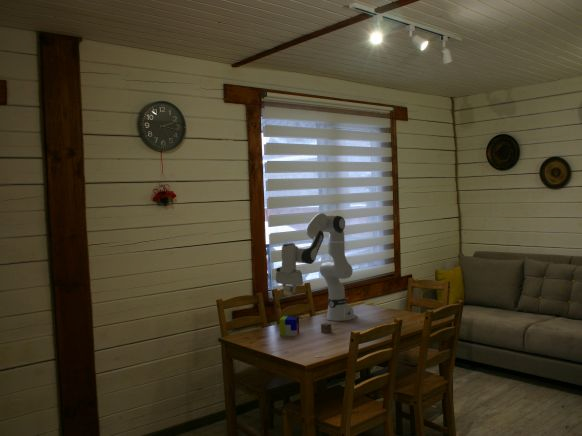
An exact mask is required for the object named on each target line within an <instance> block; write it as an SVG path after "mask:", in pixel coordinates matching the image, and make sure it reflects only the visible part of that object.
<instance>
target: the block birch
mask: <svg viewBox="0 0 582 436" xmlns="http://www.w3.org/2000/svg"><path fill="white" fill-rule="evenodd" d="M291 289H293V286H292V285H289V284H286V286H284V288H283V295H284V296H290V297H291V296H295V295H296V291H295V292H291Z"/></svg>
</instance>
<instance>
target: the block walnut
mask: <svg viewBox="0 0 582 436" xmlns="http://www.w3.org/2000/svg"><path fill="white" fill-rule="evenodd" d="M320 330H321V333H323V332H324V333H323V334H328V333H331V332H332V331H333V330H332V323H329V322H324V323H321V324H320Z"/></svg>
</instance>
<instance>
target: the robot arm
mask: <svg viewBox="0 0 582 436" xmlns="http://www.w3.org/2000/svg"><path fill="white" fill-rule="evenodd" d="M345 228H346V220H345V218H344V216H341V215H326V214H325V213H323V212H320V213H317V214H315V216H313V218H311V220H310V222H309V223H308V224H307V225H306V228H305V231H306V235H307V236H308V237H309V238H310V239H311V240H312V242H311V243H310V246H308V247H299V246H297V245H296V244H295V242H293V241H292V242H291V241H290V242H285V243H282V246H281V260H282V261H281V266H279V267H276V268H275V282H276V284H281V286H282V287H283V289H284V286H287V285H292V286H293V289H291V292H295V293H296V288H297V286H302V285H303V284H304V280H303V272H302V271H301V270H300V269H297V263H298V264H307V265H311V264H314V263H315V261H316V259H317V257H318V253H319V250H320V248H321V246H322V244H323V242H324V238H325V236H324V232H325V233H328V244H327V245H328V247H327V248H328V249H327V251H328V252H327V253H328V255H329V256H330V257H331V258H332V259H333V261H325V262H322V264H320V267H319V273H320V275H321V276H322V277H323V278H324V280H325V282H326V284H327V289H328V298H327V302H328V306H327V313H326V314H327V315H326V319H327V320H328V321H332V322H333V321H336V322H337V321H339V322H340V321H351V320H352V319H355V318H357V317H358V315H357V314H356V313H354V308H353V307H352V305H351V306H350V305H349V304H348V303H347V302H349V301H350V298H348V297H346V293H345V292H346V291H345V286H344V285H343V284H342V283H341V281H340V279H342V280H343V279H344V280H345V279H350V278H351V276H352V275H353V271H354V270H353V267H352V265H351V264H350V263H349V261H348V260H347V257H346V253H345V249H346V248H345V243H346V242H345V231H344V229H345Z"/></svg>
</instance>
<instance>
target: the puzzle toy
mask: <svg viewBox="0 0 582 436" xmlns="http://www.w3.org/2000/svg"><path fill="white" fill-rule="evenodd" d="M299 333H300V316H299V315H283V316H282V317H280V318H279V336H281V337H283V336H284V337H286V336H287V337H288V336H289V337H297V336H298V334H299Z"/></svg>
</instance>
